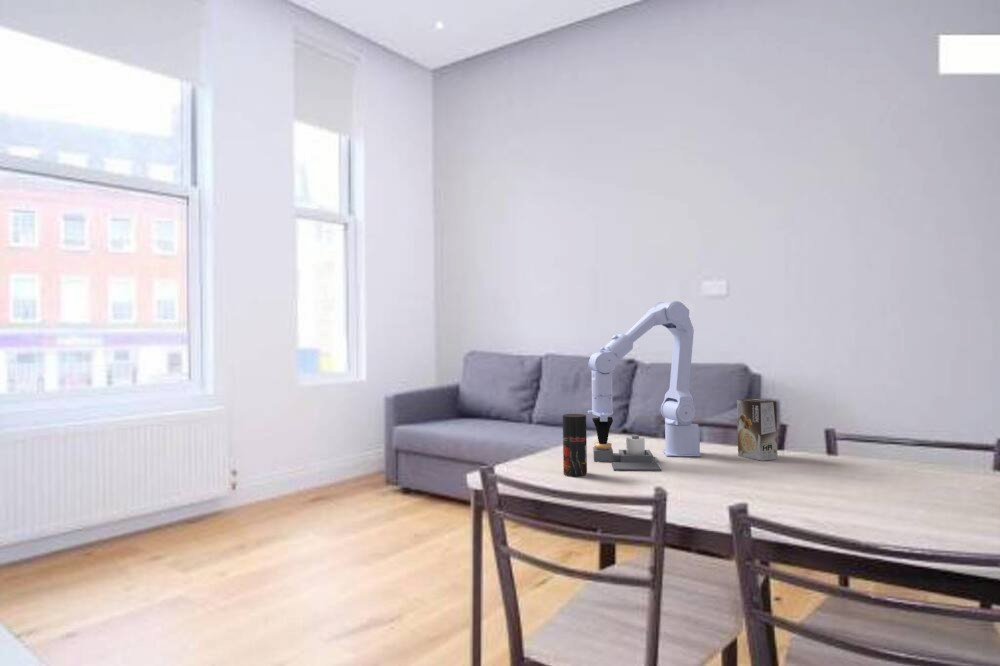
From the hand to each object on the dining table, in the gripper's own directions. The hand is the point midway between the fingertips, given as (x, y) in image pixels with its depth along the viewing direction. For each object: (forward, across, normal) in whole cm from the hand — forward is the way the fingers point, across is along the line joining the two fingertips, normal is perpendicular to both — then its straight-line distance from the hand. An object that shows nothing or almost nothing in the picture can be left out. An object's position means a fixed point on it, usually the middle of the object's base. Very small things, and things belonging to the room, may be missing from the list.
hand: (602, 443), depth 185 cm
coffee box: (+5, -4, +43) cm, 43 cm away
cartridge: (+4, 0, +9) cm, 10 cm away
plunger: (+4, 0, 0) cm, 4 cm away
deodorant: (+5, +18, -8) cm, 20 cm away
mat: (+4, +10, +8) cm, 14 cm away
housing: (+4, 0, +4) cm, 6 cm away
